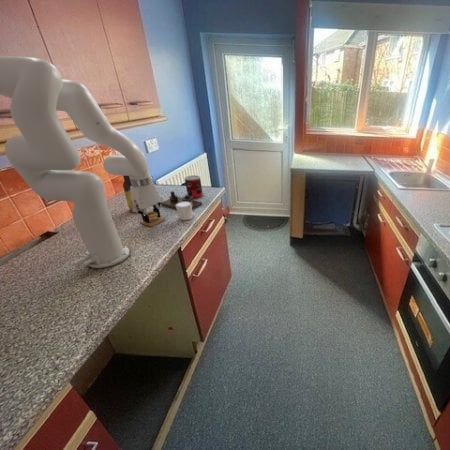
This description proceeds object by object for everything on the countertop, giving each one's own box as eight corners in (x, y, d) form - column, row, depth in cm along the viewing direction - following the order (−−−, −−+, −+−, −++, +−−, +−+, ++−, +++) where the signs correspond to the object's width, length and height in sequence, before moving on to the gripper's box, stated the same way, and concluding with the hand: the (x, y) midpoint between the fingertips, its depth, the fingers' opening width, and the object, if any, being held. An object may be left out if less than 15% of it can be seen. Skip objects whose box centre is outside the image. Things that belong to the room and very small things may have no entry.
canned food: (187, 194, 144) (184, 176, 139) (202, 192, 147) (199, 174, 142) (188, 199, 138) (184, 180, 133) (203, 197, 141) (200, 178, 136)
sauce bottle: (137, 212, 121) (125, 173, 112) (126, 211, 122) (113, 171, 113) (147, 207, 127) (136, 169, 118) (137, 206, 128) (125, 168, 119)
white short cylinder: (183, 222, 114) (180, 208, 111) (175, 217, 118) (172, 204, 115) (196, 217, 119) (194, 203, 116) (188, 213, 123) (186, 200, 120)
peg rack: (187, 211, 124) (185, 199, 121) (161, 205, 130) (158, 193, 127) (202, 204, 132) (200, 193, 129) (176, 198, 138) (174, 187, 135)
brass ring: (150, 219, 110) (149, 217, 109) (142, 217, 111) (141, 214, 111) (160, 214, 114) (159, 212, 113) (152, 212, 115) (151, 210, 115)
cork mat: (151, 226, 110) (151, 225, 110) (140, 223, 112) (140, 222, 112) (164, 220, 115) (164, 219, 115) (153, 217, 118) (153, 216, 118)
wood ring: (187, 202, 125) (187, 200, 124) (180, 200, 126) (179, 198, 126) (195, 198, 129) (194, 196, 128) (187, 197, 130) (187, 195, 130)
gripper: (152, 174, 113) (162, 210, 122) (115, 186, 99) (129, 225, 108) (164, 177, 110) (173, 213, 119) (128, 189, 97) (141, 229, 105)
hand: (152, 219), depth 113 cm, fingers closed on brass ring, 5 cm apart
